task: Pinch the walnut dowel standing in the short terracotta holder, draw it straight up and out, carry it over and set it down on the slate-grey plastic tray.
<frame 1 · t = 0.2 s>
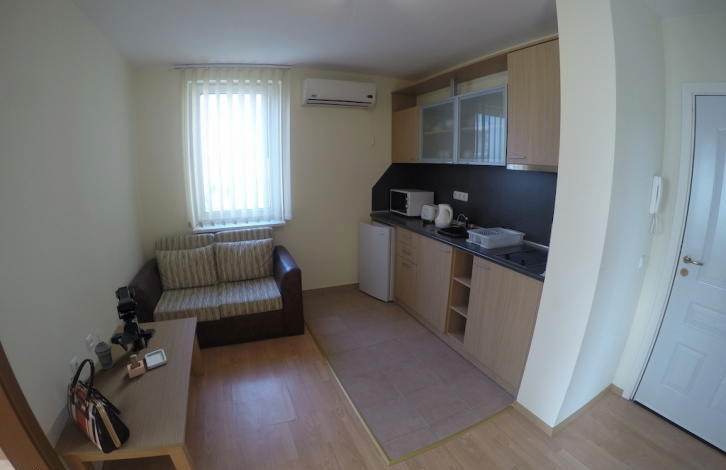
hand: (137, 349, 166), 14 cm above the table, fingers open, 9 cm apart
holder: (137, 372, 170), on the table
beverage cup: (108, 367, 175), on the table
dowel: (135, 364, 169), in the holder
tray: (156, 359, 180), on the table
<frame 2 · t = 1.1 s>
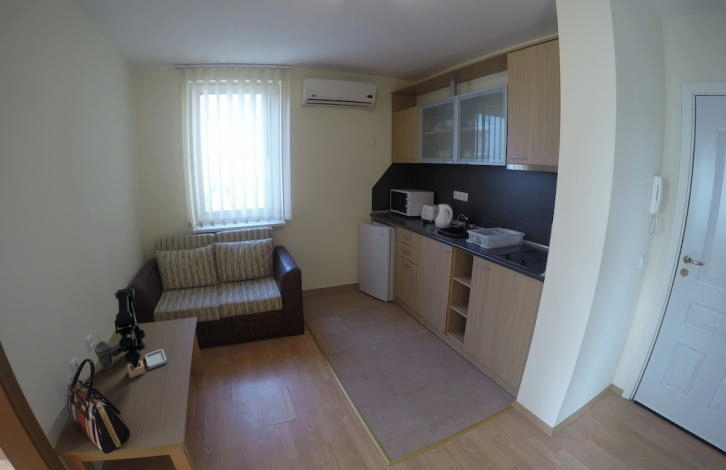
hand: (134, 362, 168), 6 cm above the table, fingers open, 9 cm apart
nothing on the table moved.
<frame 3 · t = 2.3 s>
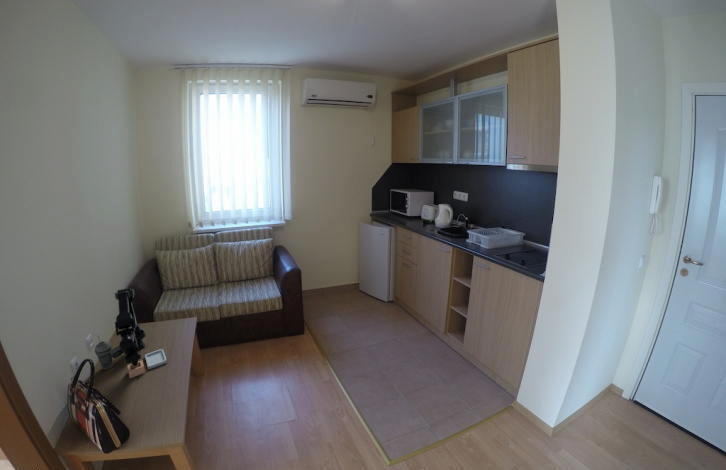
hand: (135, 364, 169), 5 cm above the table, fingers closed on dowel, 3 cm apart
dowel: (135, 364, 169), in the holder, touching gripper
everything else where it was.
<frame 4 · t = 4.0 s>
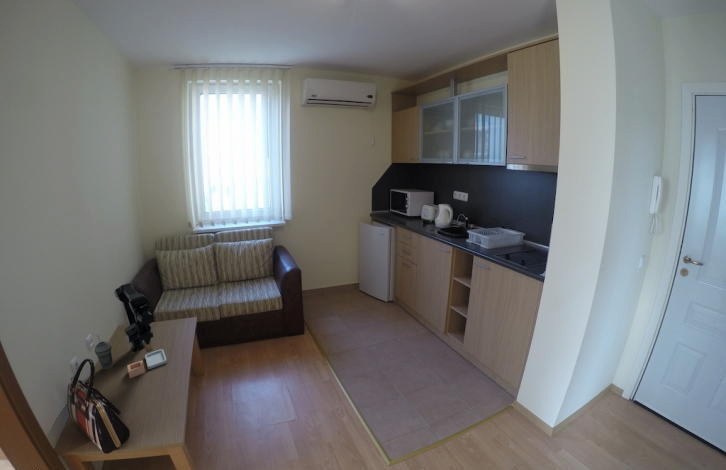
hand: (147, 342, 174), 13 cm above the table, fingers closed on dowel, 3 cm apart
dowel: (147, 342, 174), point 13 cm above the table, touching gripper
everything else where it was.
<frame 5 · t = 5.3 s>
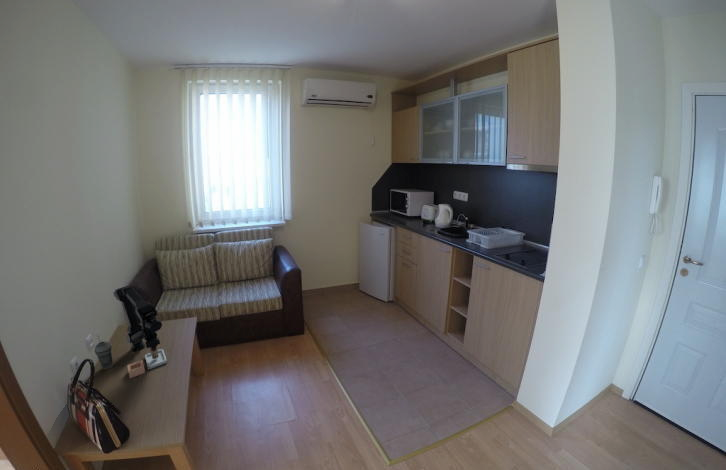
hand: (153, 349, 178), 7 cm above the table, fingers closed on dowel, 3 cm apart
dowel: (153, 349, 178), point 7 cm above the table, touching gripper
everything else where it was.
when the fingers open (6 cm above the table, at t = 6.0 s): dowel stays where it is, resting on tray.
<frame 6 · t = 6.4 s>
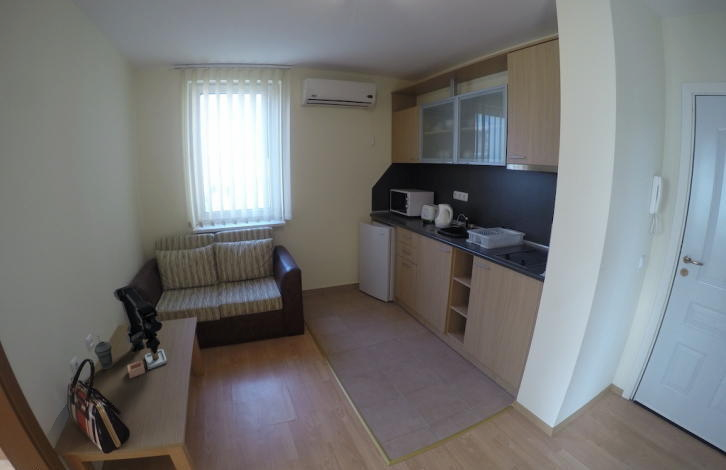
hand: (153, 350, 178), 6 cm above the table, fingers open, 7 cm apart
dowel: (154, 351, 178), in the tray, point 6 cm above the table
everything else where it was.
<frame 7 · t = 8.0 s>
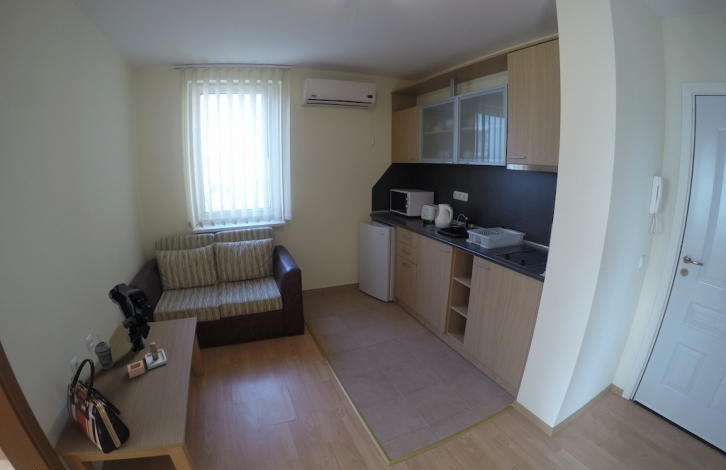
hand: (144, 335, 181), 13 cm above the table, fingers open, 9 cm apart
nothing on the table moved.
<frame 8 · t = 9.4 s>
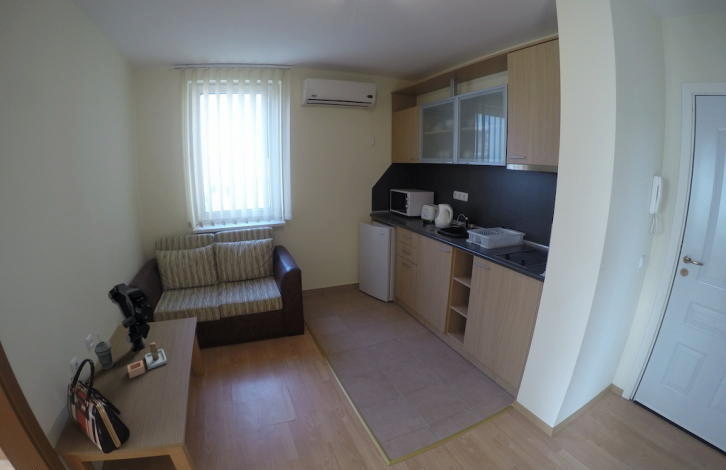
hand: (144, 335, 181), 13 cm above the table, fingers open, 9 cm apart
nothing on the table moved.
at the end: dowel inside the target area on the tray (0.0 cm from its centre), point 5.6 cm above the tray's base; the gripper is holding nothing; dowel touching tray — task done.
